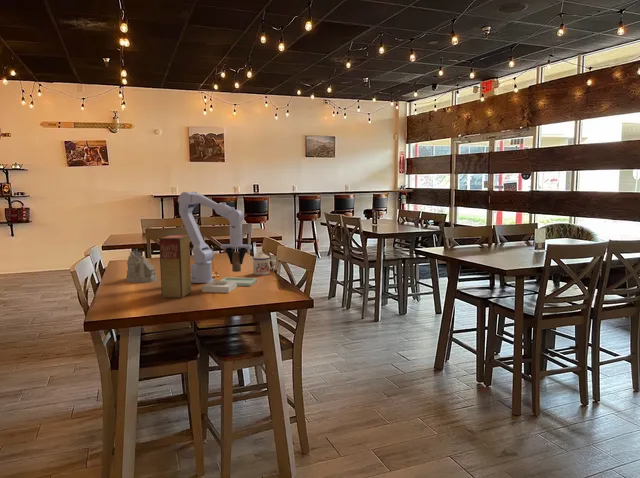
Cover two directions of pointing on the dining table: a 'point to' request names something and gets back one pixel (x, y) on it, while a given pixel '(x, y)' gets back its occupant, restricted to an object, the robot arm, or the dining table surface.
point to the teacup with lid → (262, 264)
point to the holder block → (219, 286)
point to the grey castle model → (139, 270)
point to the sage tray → (241, 281)
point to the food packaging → (175, 266)
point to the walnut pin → (236, 262)
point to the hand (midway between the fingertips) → (236, 263)
